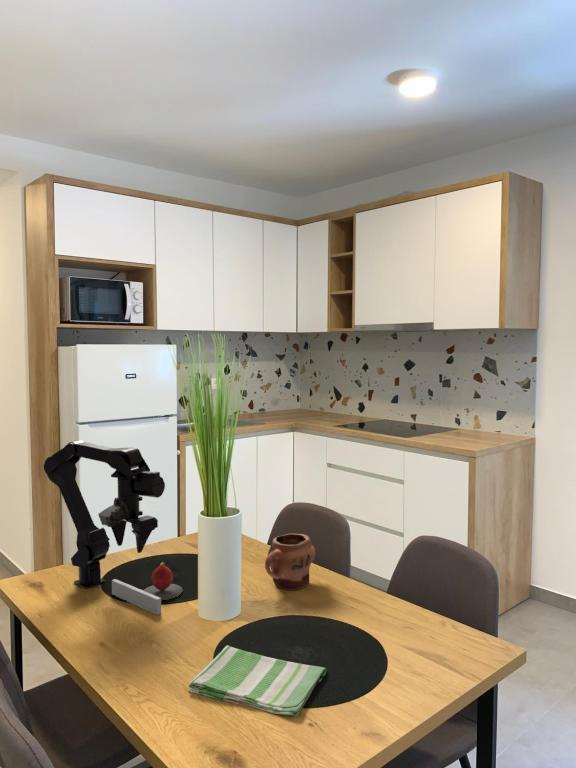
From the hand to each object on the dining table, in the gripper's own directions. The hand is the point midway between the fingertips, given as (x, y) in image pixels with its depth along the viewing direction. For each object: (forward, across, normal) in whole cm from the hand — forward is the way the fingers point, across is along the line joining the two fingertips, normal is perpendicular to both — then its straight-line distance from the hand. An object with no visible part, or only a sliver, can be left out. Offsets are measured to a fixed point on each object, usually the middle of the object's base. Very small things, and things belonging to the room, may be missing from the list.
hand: (129, 549), depth 169 cm
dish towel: (+13, +59, -11) cm, 61 cm away
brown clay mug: (+12, +32, +31) cm, 46 cm away
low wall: (+12, +8, -4) cm, 15 cm away
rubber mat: (+12, +8, +5) cm, 15 cm away
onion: (+12, +8, +5) cm, 15 cm away
